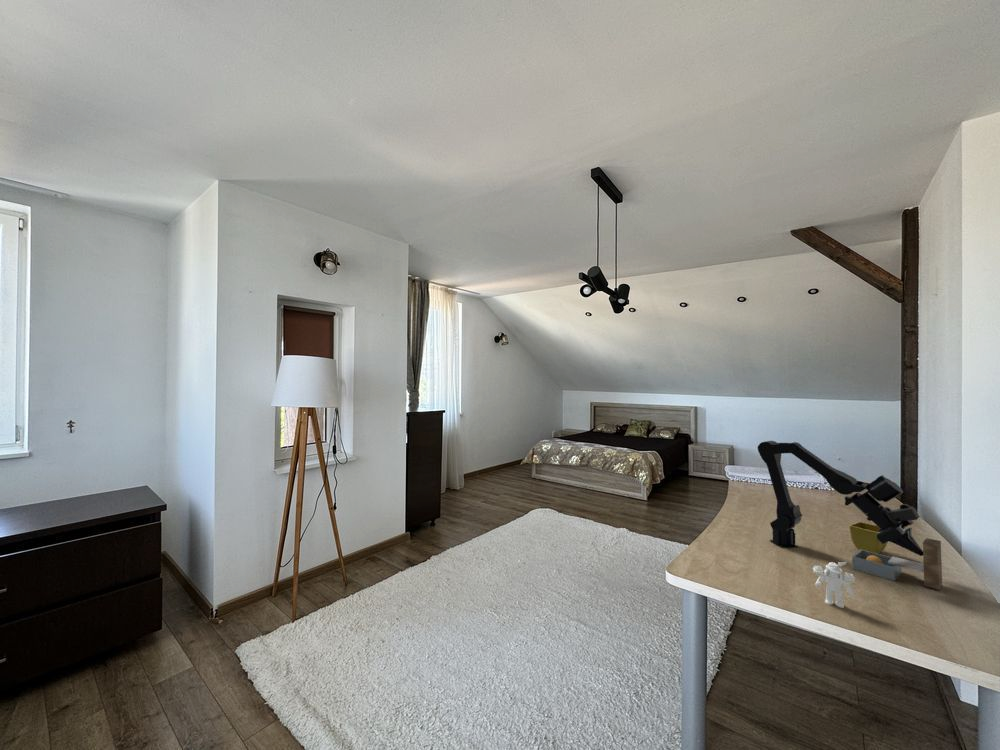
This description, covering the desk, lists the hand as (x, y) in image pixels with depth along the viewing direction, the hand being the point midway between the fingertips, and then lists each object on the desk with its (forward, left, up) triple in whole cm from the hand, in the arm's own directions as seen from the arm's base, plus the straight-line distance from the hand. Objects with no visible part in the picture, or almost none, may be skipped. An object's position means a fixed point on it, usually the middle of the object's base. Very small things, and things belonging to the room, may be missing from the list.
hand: (922, 555), depth 121 cm
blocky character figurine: (-38, -10, -9) cm, 40 cm away
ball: (-6, +9, -6) cm, 13 cm away
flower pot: (+6, +24, -9) cm, 26 cm away
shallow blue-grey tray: (-6, +9, -9) cm, 14 cm away
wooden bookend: (-1, +2, -8) cm, 9 cm away
